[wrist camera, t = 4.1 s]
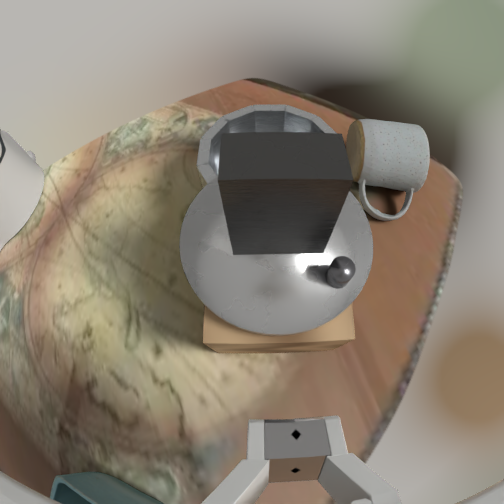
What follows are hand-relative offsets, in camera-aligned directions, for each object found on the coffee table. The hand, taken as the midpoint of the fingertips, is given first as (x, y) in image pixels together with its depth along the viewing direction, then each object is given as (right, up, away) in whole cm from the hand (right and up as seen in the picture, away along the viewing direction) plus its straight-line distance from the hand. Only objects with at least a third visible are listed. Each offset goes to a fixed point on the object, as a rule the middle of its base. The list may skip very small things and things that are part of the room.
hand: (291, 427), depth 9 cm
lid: (0, +7, +13) cm, 14 cm away
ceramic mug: (+13, +14, +24) cm, 30 cm away
